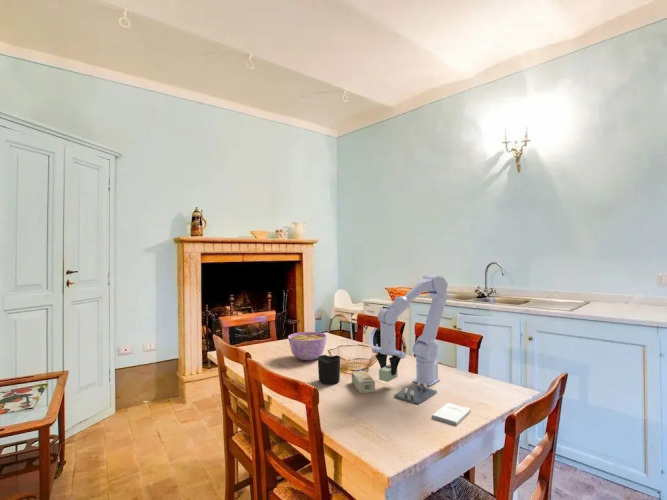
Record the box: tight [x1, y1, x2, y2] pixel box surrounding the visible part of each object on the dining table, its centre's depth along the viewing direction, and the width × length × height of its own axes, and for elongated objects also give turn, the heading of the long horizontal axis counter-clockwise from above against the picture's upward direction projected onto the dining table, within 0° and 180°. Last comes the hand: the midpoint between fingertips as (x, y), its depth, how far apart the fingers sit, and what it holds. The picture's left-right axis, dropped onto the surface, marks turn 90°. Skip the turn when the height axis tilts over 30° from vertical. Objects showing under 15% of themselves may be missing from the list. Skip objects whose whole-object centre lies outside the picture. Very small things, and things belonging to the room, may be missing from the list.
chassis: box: [393, 381, 438, 405], centre depth 134 cm, size 14×10×3 cm
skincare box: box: [351, 370, 376, 394], centre depth 143 cm, size 6×4×12 cm
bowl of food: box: [287, 331, 328, 361], centre depth 184 cm, size 20×20×12 cm
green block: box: [378, 363, 398, 383], centre depth 142 cm, size 7×4×5 cm, turn 138°
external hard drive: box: [431, 402, 472, 426], centre depth 118 cm, size 2×8×12 cm
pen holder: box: [317, 354, 341, 386], centre depth 151 cm, size 9×9×10 cm
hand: (388, 373), depth 143 cm, fingers closed on green block, 4 cm apart
